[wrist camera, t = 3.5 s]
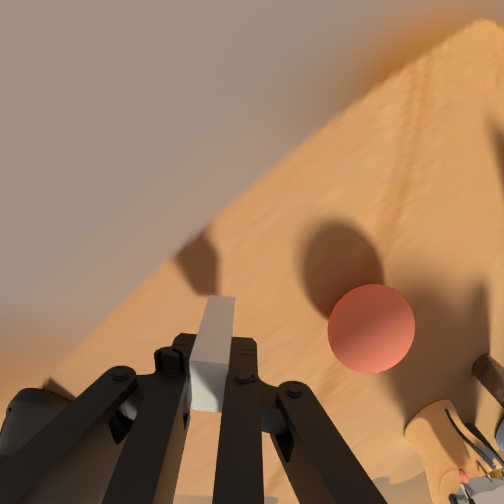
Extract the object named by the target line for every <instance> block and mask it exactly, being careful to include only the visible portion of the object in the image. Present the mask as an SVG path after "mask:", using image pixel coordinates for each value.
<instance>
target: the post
mask: <svg viewBox="0 0 504 504" xmlns="http://www.w3.org/2000/svg"><path fill="white" fill-rule="evenodd" d="M472 374H473V375H474V376H475V377H476V379H477V380H478V381H479V382H480V383H481V384H482V385H483V386H484V387H485V388H486V389H487V390H488V391H489V392H490V394H491V395H492V396H493V397H494V398H495V399H496V400H497V401H498V402H499V403H500V405H501V406H502V407H503V408H504V368H503V367H502V366H501V365H500V364H499V363H498V362H497V361H496V360H495V359H494V358H492V357H491V356H490V355H489V354H483V355H482V356H480V357H479V358H478V359H477V361H476V362H475V363H474V365H473V368H472Z"/></svg>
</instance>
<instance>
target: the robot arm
mask: <svg viewBox="0 0 504 504" xmlns="http://www.w3.org/2000/svg"><path fill="white" fill-rule="evenodd" d="M235 301H236V297H227V296H214V295H210V296H209V299H208V302H207V305H206V308H205V311H204V314H203V318H202V321H201V324H200V327H199V330H198V333H197V334H187V333H181V334H179V335H178V336H177V337H175V339H174V341H173V344H172V346H171V347H163V348H160V349H158V350H156V351H155V353H154V359H155V368H156V370H155V372H154V373H152V374H147V375H136V372H135V371H134V369H132V368H130V367H128V366H115V367H112V368H110V369H109V370H107V371H106V372H105V373H104V374H103V375H102V376H100V377H99V378H98V379H97V380H96V381H95V382H94V383H93V384H92V385H90V386H89V387H88V388H87V389H86V390H85V391H84V392H83V393H81V394H80V395H79V396H78V397H77V398H76V399H75V400H74V401H72V402H70V401H68V400H66V399H64V398H62V397H60V396H58V395H56V394H54V393H51V392H49V391H46V390H42V389H38V388H25V389H22V390H21V391H19V392H18V394H17V395H16V396H15V397H14V398H13V400H12V401H11V402H10V403H9V405H8V407H7V410H6V417H5V419H4V422H3V425H2V428H1V431H0V504H173V499H174V493H175V488H176V483H177V479H178V474H179V469H180V464H181V459H182V454H183V450H184V445H185V440H186V435H187V431H188V426H189V422H190V406H191V405H192V410H201V411H211V412H222V416H221V425H220V434H219V444H218V453H217V462H216V472H215V481H214V491H213V501H212V504H264V485H263V458H262V432H266V433H270V437H271V439H272V442H273V444H274V446H275V449H276V451H277V454H278V456H279V458H280V460H281V463H282V465H283V467H284V470H285V472H286V474H287V476H288V479H289V481H290V483H291V485H292V488H293V490H294V492H295V494H296V496H297V499H298V501H299V503H300V504H387V502H386V501H385V499H384V498H383V496H382V495H381V493H380V492H379V491H378V489H377V488H376V486H375V485H374V483H373V482H372V480H371V479H370V477H369V476H368V475H367V473H366V472H365V470H364V469H363V467H362V466H361V464H360V463H359V461H358V460H357V458H356V457H355V455H354V454H353V452H352V451H351V449H350V448H349V446H348V445H347V444H346V442H345V441H344V439H343V438H342V436H341V435H340V433H339V432H338V430H337V429H336V427H335V426H334V424H333V422H332V421H331V419H330V418H329V416H328V415H327V413H326V412H325V410H324V409H323V407H322V406H321V404H320V403H319V401H318V400H317V398H316V397H315V395H314V393H313V392H312V390H311V389H310V388H309V387H308V386H307V385H306V384H304V383H302V382H298V381H287V382H283V383H282V384H280V385H279V387H275V386H271V385H268V384H266V383H264V382H263V381H262V380H260V378H259V377H258V366H257V343H256V342H255V341H254V340H253V338H244V337H234V319H235ZM261 431H262V432H261Z"/></svg>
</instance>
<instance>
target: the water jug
mask: <svg viewBox="0 0 504 504" xmlns="http://www.w3.org/2000/svg"><path fill="white" fill-rule="evenodd" d="M496 443H497V445H498V446H499V447H500V449H501V450H502V451H504V419H503V420H502V422H501V424H500V426H499V428H498V431H497V435H496Z"/></svg>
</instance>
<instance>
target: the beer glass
mask: <svg viewBox="0 0 504 504" xmlns="http://www.w3.org/2000/svg"><path fill="white" fill-rule="evenodd" d="M404 435H405V438H406V440H407V441H408V442H409V443H410V444H411V445H412V447H413V448H414V449H415V450H416V451H417V453H418V454H419V456H420V458H421V460H422V462H423V465H424V469H425V472H426V477H427V481H428V485H429V489H430V494H431V497H432V501H433V504H504V464H503V463H502V462H501V460H500V459H499V458H498V457H497V456H496V455H495V454H494V453H493V452H492V451H491V450H490V449H489V448H488V447H487V446H486V445H484V444H483V443H482V442H481V441H480V440H479V439H477V438H476V437H475V436H474V435H473V434H472V433H471V432H470V431H469V430H468V429H467V428H466V427H465V426H464V424H463V423H462V421H461V419H460V418H459V415H458V413H457V411H456V408H455V406H454V404H453V403H452V402H451V401H449V400H440V401H436V402H434V403H432V404H430V405H428V406H426V407H425V408H423V409H422V410H421V411H419V412H418V413H417V414H416V415H415V416H414V417H413V418H412V419H411V420H410V422H409V423H408V425H407V427H406V429H405V432H404Z"/></svg>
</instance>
